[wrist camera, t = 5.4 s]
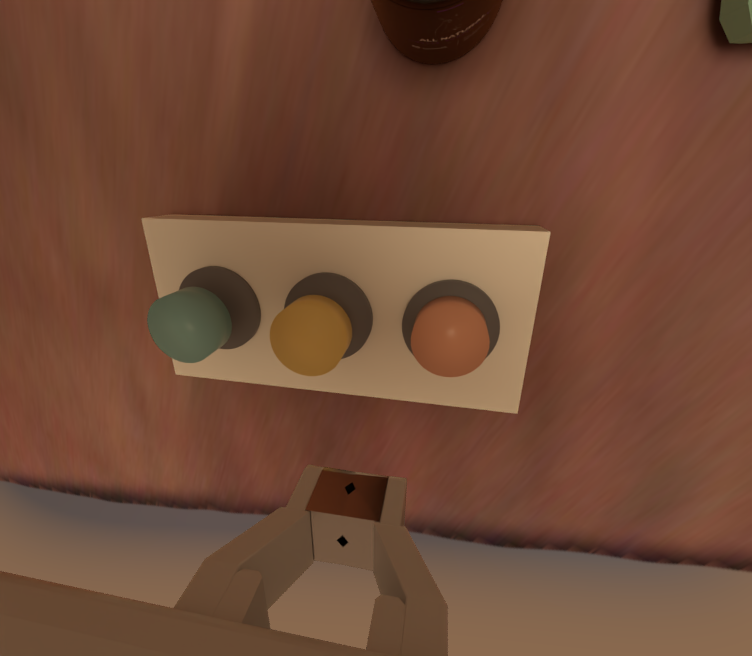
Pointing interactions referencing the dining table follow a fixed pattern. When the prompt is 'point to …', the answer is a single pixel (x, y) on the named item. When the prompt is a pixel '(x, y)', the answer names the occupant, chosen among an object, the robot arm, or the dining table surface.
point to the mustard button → (311, 335)
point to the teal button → (189, 324)
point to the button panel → (358, 296)
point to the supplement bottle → (436, 26)
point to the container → (737, 20)
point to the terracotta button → (450, 337)
